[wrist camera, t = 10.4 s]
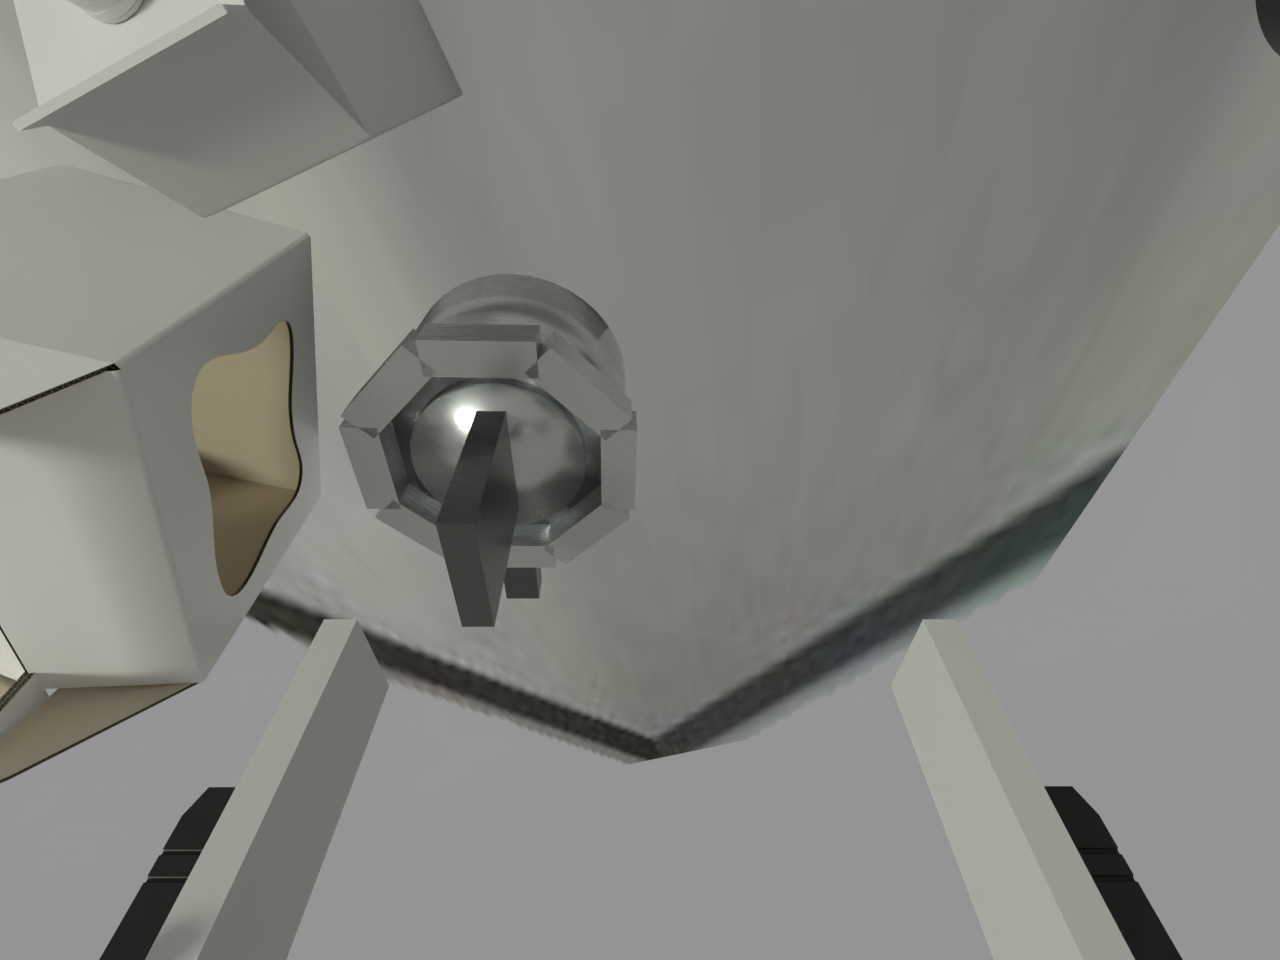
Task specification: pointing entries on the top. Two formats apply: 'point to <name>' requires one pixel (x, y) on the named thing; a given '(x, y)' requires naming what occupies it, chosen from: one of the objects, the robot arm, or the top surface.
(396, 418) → the pot
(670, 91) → the top surface
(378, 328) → the top surface
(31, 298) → the gable box
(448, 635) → the top surface
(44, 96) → the milk carton
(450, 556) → the lid
